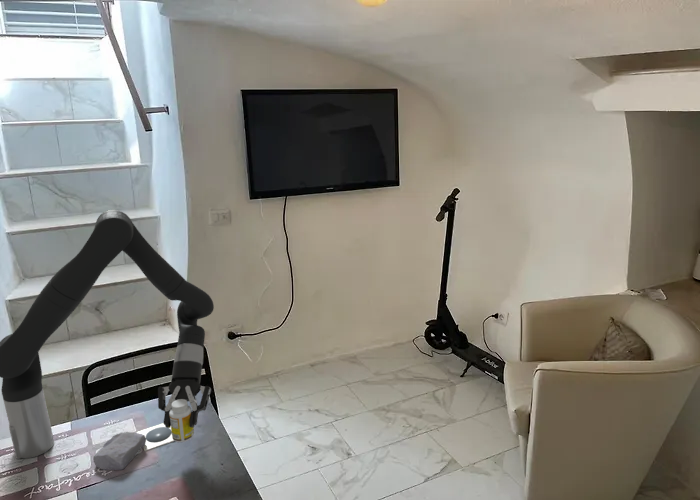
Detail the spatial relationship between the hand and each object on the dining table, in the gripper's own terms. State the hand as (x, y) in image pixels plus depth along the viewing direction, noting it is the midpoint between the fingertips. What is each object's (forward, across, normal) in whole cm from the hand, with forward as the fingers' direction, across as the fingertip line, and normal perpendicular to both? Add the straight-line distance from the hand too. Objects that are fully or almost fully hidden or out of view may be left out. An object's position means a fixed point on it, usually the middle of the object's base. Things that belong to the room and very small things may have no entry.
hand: (179, 426), depth 138 cm
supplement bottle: (+2, 0, +4) cm, 5 cm away
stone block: (+5, -18, +10) cm, 21 cm away
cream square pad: (-1, -10, +16) cm, 19 cm away
